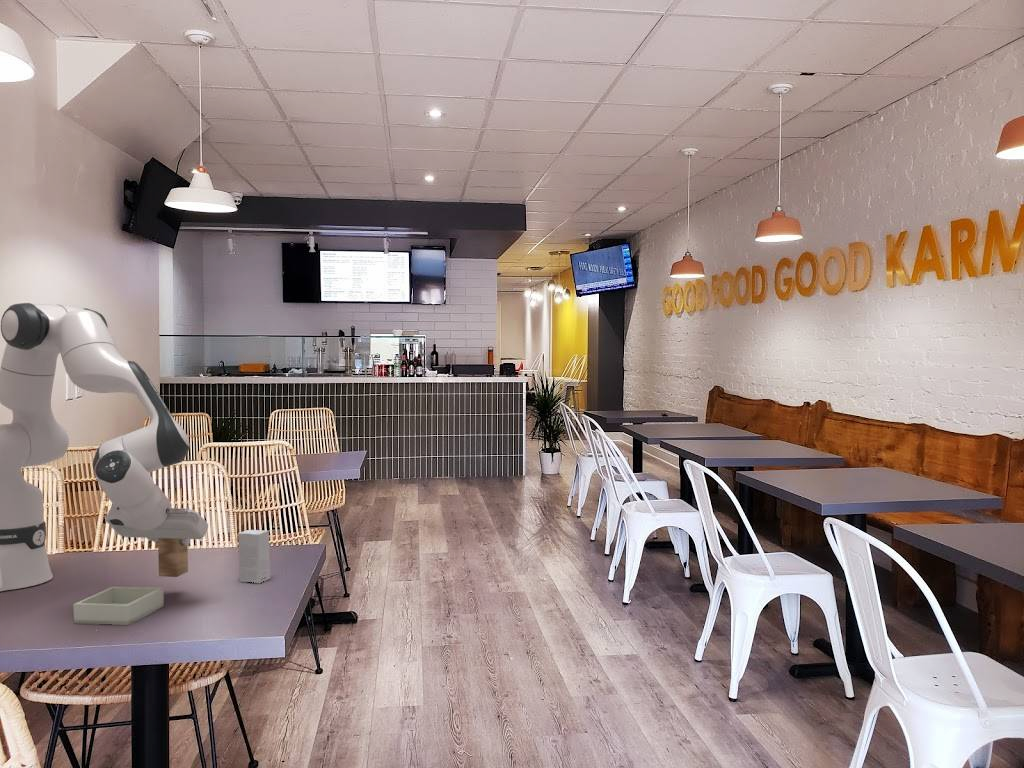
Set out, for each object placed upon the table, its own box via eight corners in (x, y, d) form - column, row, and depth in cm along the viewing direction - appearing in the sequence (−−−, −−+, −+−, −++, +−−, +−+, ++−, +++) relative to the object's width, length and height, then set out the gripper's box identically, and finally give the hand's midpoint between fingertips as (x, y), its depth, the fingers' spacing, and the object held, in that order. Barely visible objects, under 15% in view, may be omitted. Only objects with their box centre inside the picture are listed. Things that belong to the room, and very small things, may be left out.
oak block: (158, 576, 167) (158, 532, 167) (170, 570, 171) (169, 528, 171) (176, 577, 166) (176, 532, 166) (187, 571, 171) (187, 528, 170)
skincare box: (270, 579, 181) (269, 530, 180) (259, 584, 177) (258, 534, 176) (249, 577, 182) (248, 529, 182) (238, 582, 178) (237, 532, 178)
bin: (73, 623, 151) (73, 604, 151) (112, 604, 163) (112, 586, 162) (128, 625, 149) (127, 605, 149) (163, 606, 161) (163, 587, 161)
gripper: (198, 497, 160) (222, 532, 170) (111, 495, 163) (139, 530, 173) (187, 522, 156) (212, 556, 166) (97, 520, 158) (127, 553, 168)
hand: (174, 543), depth 169 cm, fingers closed on oak block, 4 cm apart
